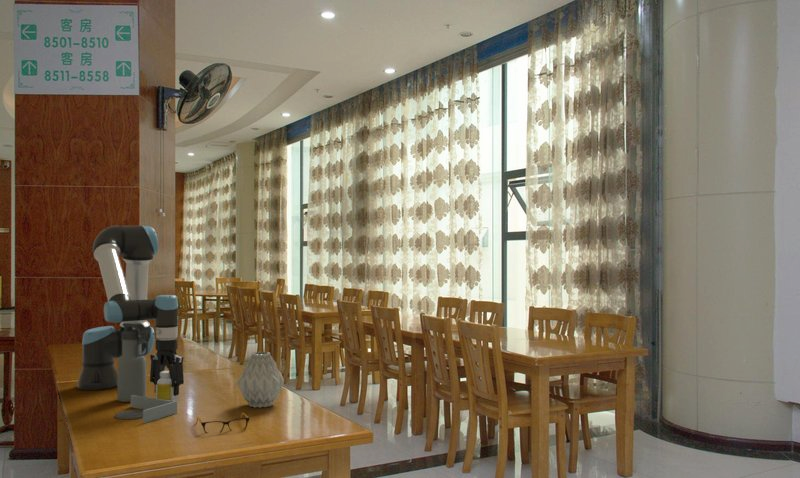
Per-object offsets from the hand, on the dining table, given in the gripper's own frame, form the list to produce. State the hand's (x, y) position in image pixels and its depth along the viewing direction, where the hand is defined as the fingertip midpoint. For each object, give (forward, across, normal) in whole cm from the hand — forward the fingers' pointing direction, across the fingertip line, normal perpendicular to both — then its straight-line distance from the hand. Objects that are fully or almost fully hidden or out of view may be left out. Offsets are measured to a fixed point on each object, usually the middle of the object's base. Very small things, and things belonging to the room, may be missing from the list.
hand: (166, 403), depth 241 cm
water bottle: (+1, -17, 0) cm, 17 cm away
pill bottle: (+1, 0, 0) cm, 1 cm away
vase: (+1, +31, +14) cm, 34 cm away
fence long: (0, +1, -8) cm, 8 cm away
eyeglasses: (+1, +37, -13) cm, 39 cm away
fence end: (0, +12, -14) cm, 19 cm away
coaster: (0, +1, -16) cm, 16 cm away
